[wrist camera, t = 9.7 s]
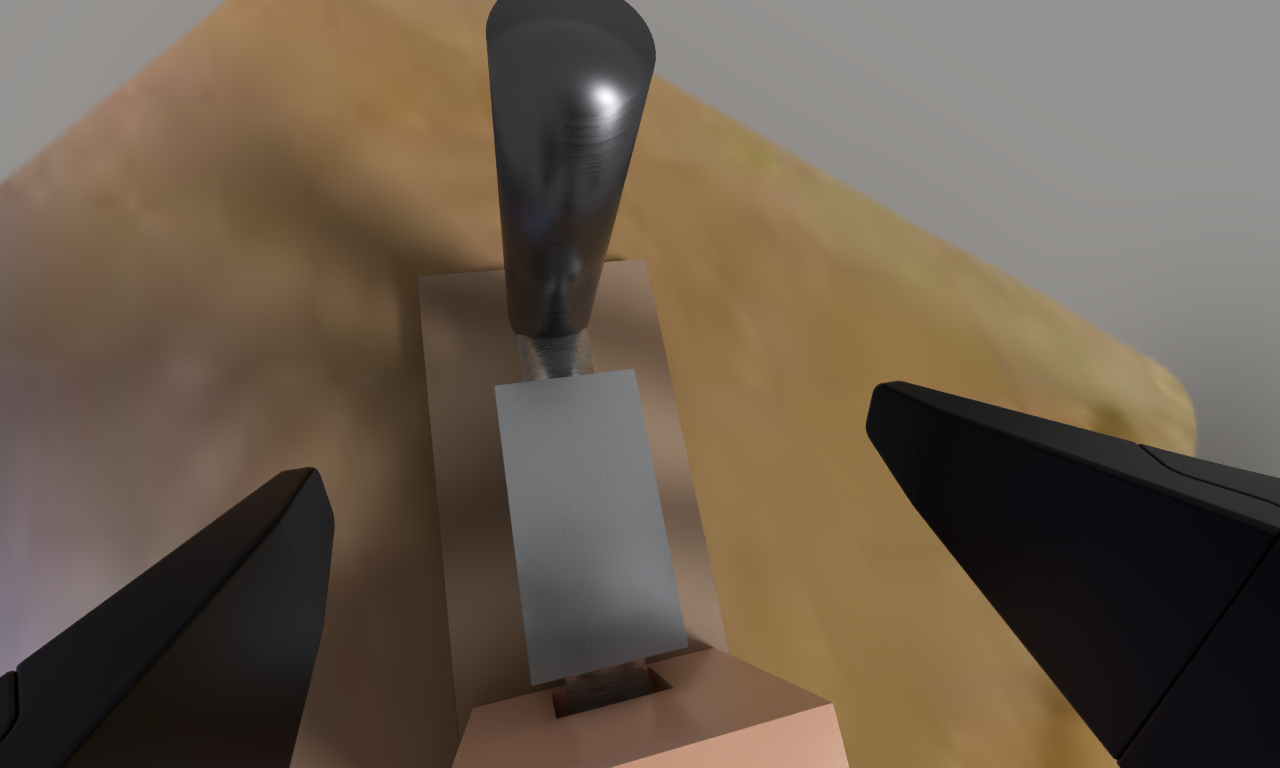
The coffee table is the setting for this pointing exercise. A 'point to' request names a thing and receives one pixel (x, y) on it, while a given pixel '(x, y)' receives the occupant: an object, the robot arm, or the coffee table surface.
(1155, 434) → the coffee table surface
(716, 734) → the socket
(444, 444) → the base board
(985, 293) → the coffee table surface
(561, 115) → the black handled metal tool
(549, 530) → the grey rectangular block
